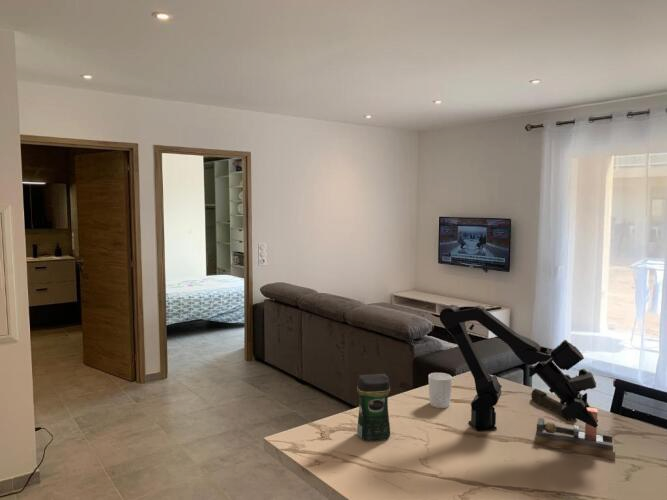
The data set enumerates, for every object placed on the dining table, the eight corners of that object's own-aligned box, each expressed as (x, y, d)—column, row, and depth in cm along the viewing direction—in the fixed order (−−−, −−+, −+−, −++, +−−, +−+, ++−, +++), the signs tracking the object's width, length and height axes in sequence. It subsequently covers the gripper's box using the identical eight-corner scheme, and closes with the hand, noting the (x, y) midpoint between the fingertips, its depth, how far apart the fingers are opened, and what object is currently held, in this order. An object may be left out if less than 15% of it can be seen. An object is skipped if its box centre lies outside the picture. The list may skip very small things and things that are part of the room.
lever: (573, 440, 139) (574, 409, 138) (574, 433, 143) (575, 404, 142) (602, 445, 135) (604, 414, 135) (602, 439, 139) (603, 408, 139)
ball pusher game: (534, 443, 142) (535, 426, 141) (537, 431, 149) (538, 415, 149) (614, 459, 132) (615, 441, 132) (613, 445, 140) (614, 428, 140)
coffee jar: (385, 429, 151) (386, 369, 149) (392, 441, 143) (393, 378, 141) (354, 431, 149) (354, 371, 148) (359, 443, 141) (360, 380, 140)
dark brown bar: (578, 420, 158) (579, 406, 157) (568, 422, 157) (568, 407, 156) (538, 399, 176) (538, 386, 175) (528, 400, 175) (529, 387, 174)
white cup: (453, 409, 166) (454, 380, 165) (430, 409, 166) (430, 380, 165) (448, 400, 174) (449, 372, 173) (426, 400, 174) (426, 372, 173)
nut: (548, 436, 142) (549, 425, 141) (541, 431, 145) (542, 420, 145) (558, 435, 142) (559, 424, 142) (551, 430, 145) (552, 419, 145)
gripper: (576, 372, 131) (623, 421, 126) (579, 354, 147) (619, 397, 143) (543, 396, 135) (587, 443, 131) (549, 376, 151) (588, 418, 147)
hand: (596, 424), depth 138 cm, fingers closed on lever, 3 cm apart
